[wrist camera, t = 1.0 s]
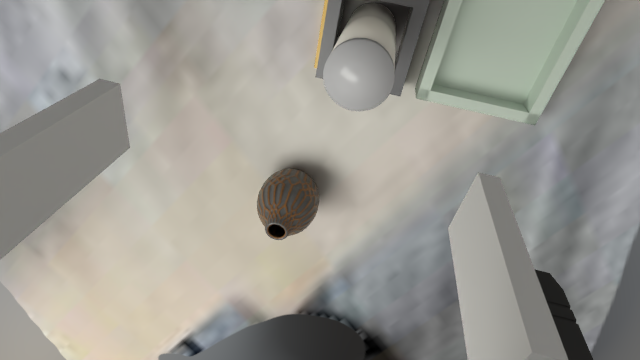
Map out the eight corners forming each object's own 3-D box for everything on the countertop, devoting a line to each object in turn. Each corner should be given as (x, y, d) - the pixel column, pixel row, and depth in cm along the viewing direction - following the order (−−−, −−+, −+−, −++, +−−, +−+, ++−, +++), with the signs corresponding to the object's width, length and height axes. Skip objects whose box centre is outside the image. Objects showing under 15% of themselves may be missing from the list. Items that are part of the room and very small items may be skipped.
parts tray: (494, -153, 26) (503, -160, 24) (652, -122, 26) (675, -127, 24) (415, 88, 37) (416, 98, 34) (526, 113, 36) (535, 125, 34)
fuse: (353, -2, 33) (329, 33, 22) (402, 8, 33) (403, 49, 22) (343, 47, 36) (317, 102, 24) (388, 57, 35) (383, 117, 24)
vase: (329, 204, 46) (316, 254, 39) (277, 208, 48) (256, 257, 41) (315, 156, 43) (298, 201, 36) (260, 163, 45) (234, 208, 38)
